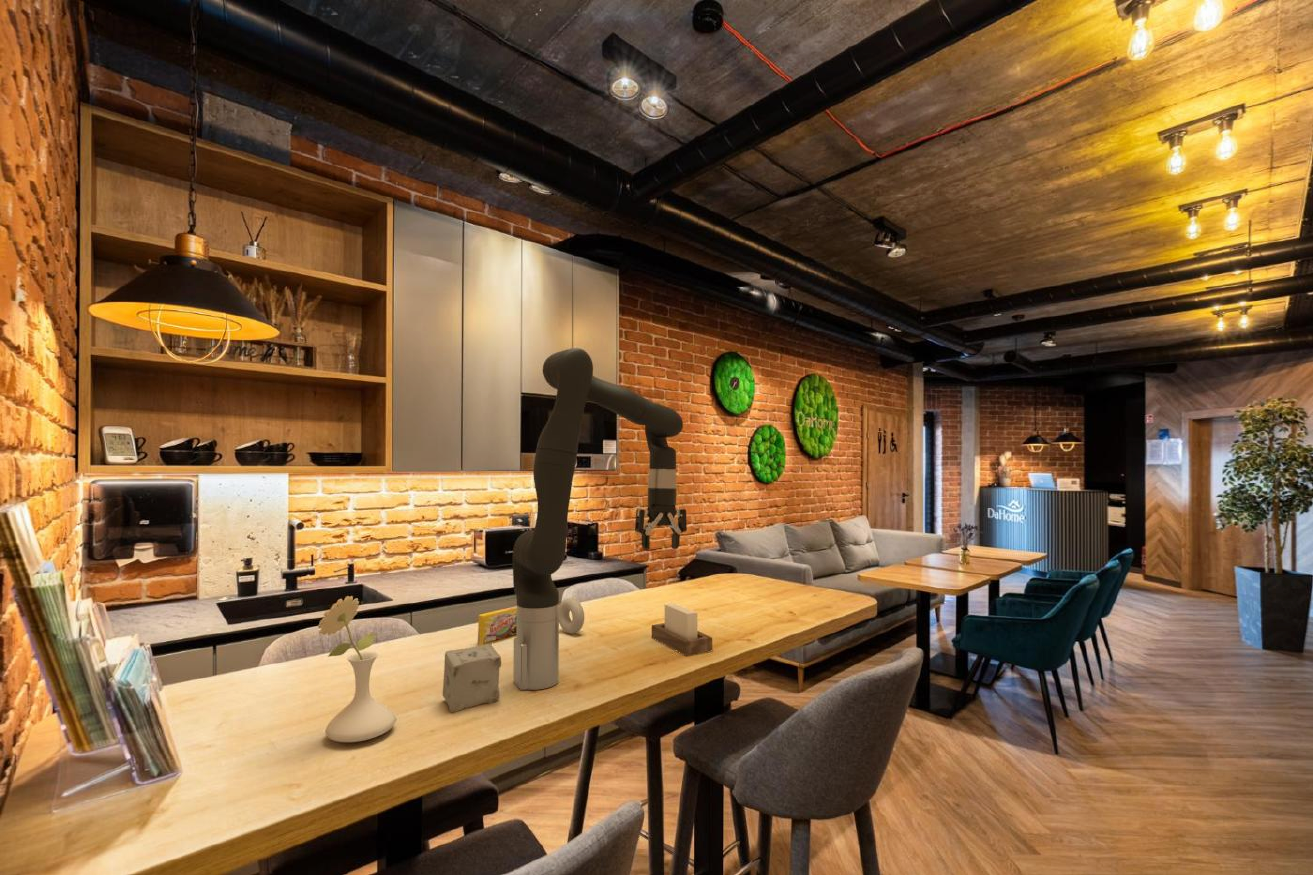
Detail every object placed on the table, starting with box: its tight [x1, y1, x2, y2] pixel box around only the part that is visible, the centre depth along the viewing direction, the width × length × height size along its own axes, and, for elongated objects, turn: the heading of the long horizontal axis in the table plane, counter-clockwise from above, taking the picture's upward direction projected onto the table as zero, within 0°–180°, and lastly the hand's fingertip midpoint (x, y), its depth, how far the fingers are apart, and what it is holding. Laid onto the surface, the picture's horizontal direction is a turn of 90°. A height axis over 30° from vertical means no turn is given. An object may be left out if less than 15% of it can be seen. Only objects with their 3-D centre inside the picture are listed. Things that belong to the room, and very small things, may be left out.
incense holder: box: [442, 644, 502, 714], centre depth 120 cm, size 10×8×10 cm
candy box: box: [476, 605, 517, 646], centre depth 163 cm, size 16×2×8 cm, turn 143°
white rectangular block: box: [664, 602, 699, 640], centre depth 158 cm, size 3×12×9 cm, turn 29°
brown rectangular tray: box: [651, 622, 713, 657], centre depth 158 cm, size 8×18×4 cm, turn 29°
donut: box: [559, 597, 585, 635], centre depth 168 cm, size 10×3×10 cm, turn 47°
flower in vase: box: [317, 595, 397, 743], centre depth 106 cm, size 13×11×25 cm
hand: (660, 549), depth 154 cm, fingers open, 8 cm apart
